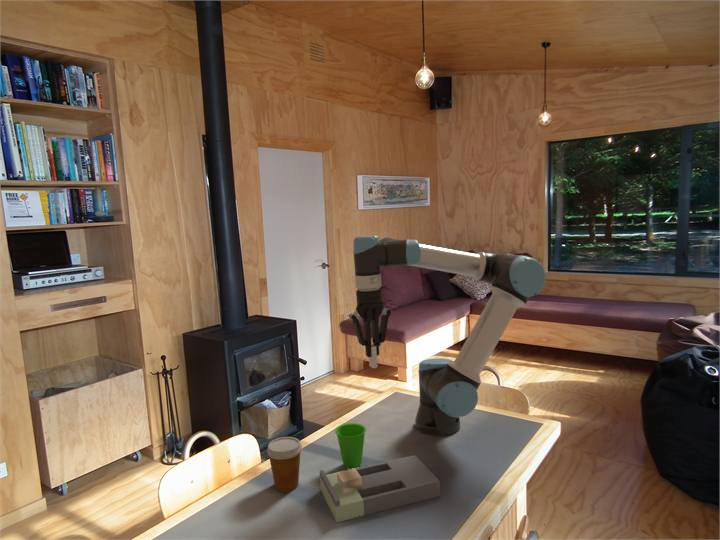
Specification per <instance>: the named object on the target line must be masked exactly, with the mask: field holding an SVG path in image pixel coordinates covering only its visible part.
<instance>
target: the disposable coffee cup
mask: <svg viewBox="0 0 720 540" xmlns="http://www.w3.org/2000/svg"><path fill="white" fill-rule="evenodd" d="M302 450H303V445H302V443H301V442H300V440H299V439H298V438H296V437H292V436H283V437H279V438H275V439H273V440H271V441H270V442H269V443H268V445H267V448H266V453H267V455H268V458H269V463H270V469H271V472H272V477H273V483H274V487H275V489H276V490H277V491H278V492H283V493H286V492H287V493H288V492H291V491H293V490H296V489H297V487H298V486H299V476H300V462H301V453H302Z"/></svg>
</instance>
